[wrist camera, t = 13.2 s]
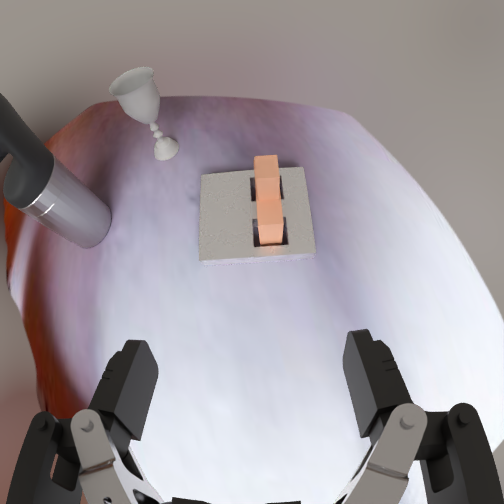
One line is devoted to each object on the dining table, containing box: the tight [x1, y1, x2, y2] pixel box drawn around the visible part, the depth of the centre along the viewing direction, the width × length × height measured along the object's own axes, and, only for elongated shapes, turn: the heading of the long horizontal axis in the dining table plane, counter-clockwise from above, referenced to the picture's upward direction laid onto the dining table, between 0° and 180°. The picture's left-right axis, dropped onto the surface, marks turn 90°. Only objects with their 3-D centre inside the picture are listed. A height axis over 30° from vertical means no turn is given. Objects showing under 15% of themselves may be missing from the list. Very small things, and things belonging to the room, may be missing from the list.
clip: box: [254, 155, 284, 247], centre depth 36 cm, size 3×10×14 cm, turn 3°
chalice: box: [109, 67, 179, 161], centre depth 39 cm, size 7×7×18 cm
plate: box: [199, 167, 316, 266], centre depth 41 cm, size 16×14×3 cm
